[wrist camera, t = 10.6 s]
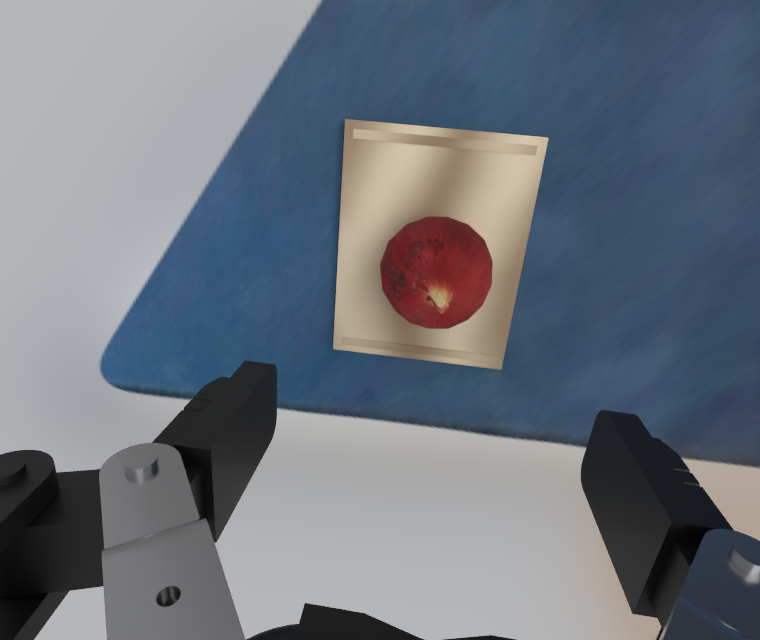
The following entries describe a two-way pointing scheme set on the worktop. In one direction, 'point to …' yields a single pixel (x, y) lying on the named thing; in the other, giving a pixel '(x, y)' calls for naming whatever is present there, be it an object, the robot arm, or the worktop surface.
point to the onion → (436, 272)
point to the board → (440, 199)
